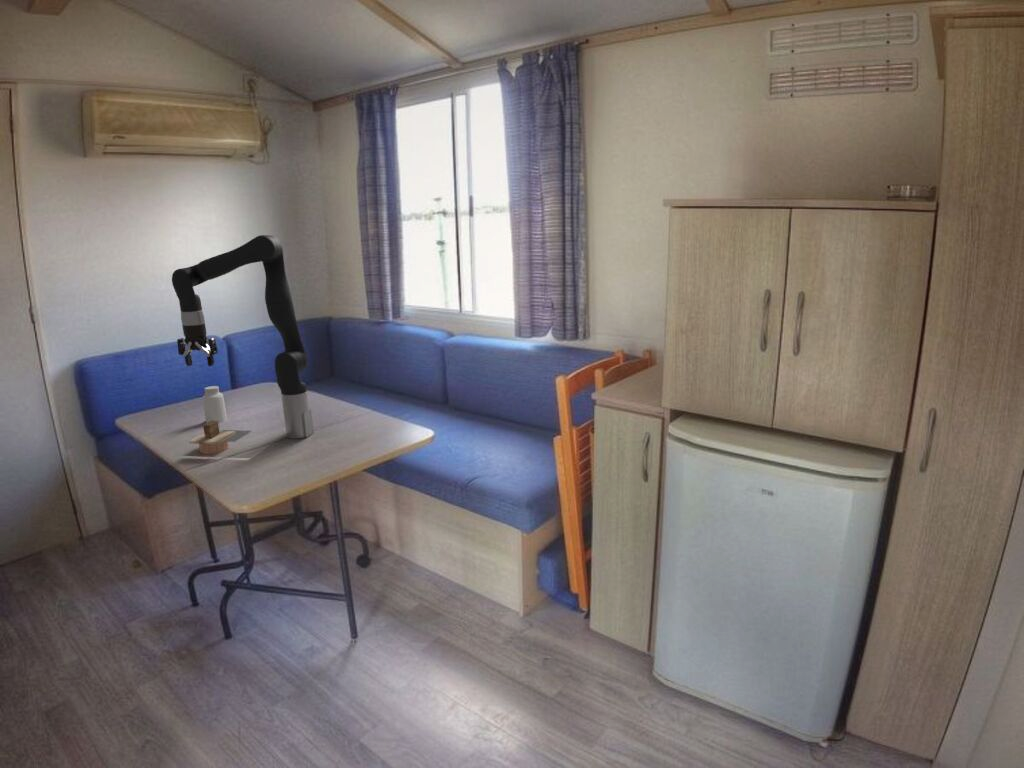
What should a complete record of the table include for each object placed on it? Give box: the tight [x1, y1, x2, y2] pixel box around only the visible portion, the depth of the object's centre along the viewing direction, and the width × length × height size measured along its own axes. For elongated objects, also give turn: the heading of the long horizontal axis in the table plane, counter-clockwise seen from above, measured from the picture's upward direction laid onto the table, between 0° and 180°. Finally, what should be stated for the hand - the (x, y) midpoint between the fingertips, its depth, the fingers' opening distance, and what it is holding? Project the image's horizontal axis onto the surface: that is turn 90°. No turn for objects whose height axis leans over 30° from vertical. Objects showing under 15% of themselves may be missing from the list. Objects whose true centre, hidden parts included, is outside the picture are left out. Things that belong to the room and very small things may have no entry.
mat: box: [222, 429, 252, 443], centre depth 235 cm, size 12×12×1 cm
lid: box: [188, 421, 236, 445], centre depth 220 cm, size 11×11×6 cm
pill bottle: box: [201, 385, 228, 424], centre depth 252 cm, size 8×8×15 cm
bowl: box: [198, 439, 229, 455], centre depth 221 cm, size 9×9×5 cm
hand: (200, 365), depth 230 cm, fingers open, 8 cm apart
